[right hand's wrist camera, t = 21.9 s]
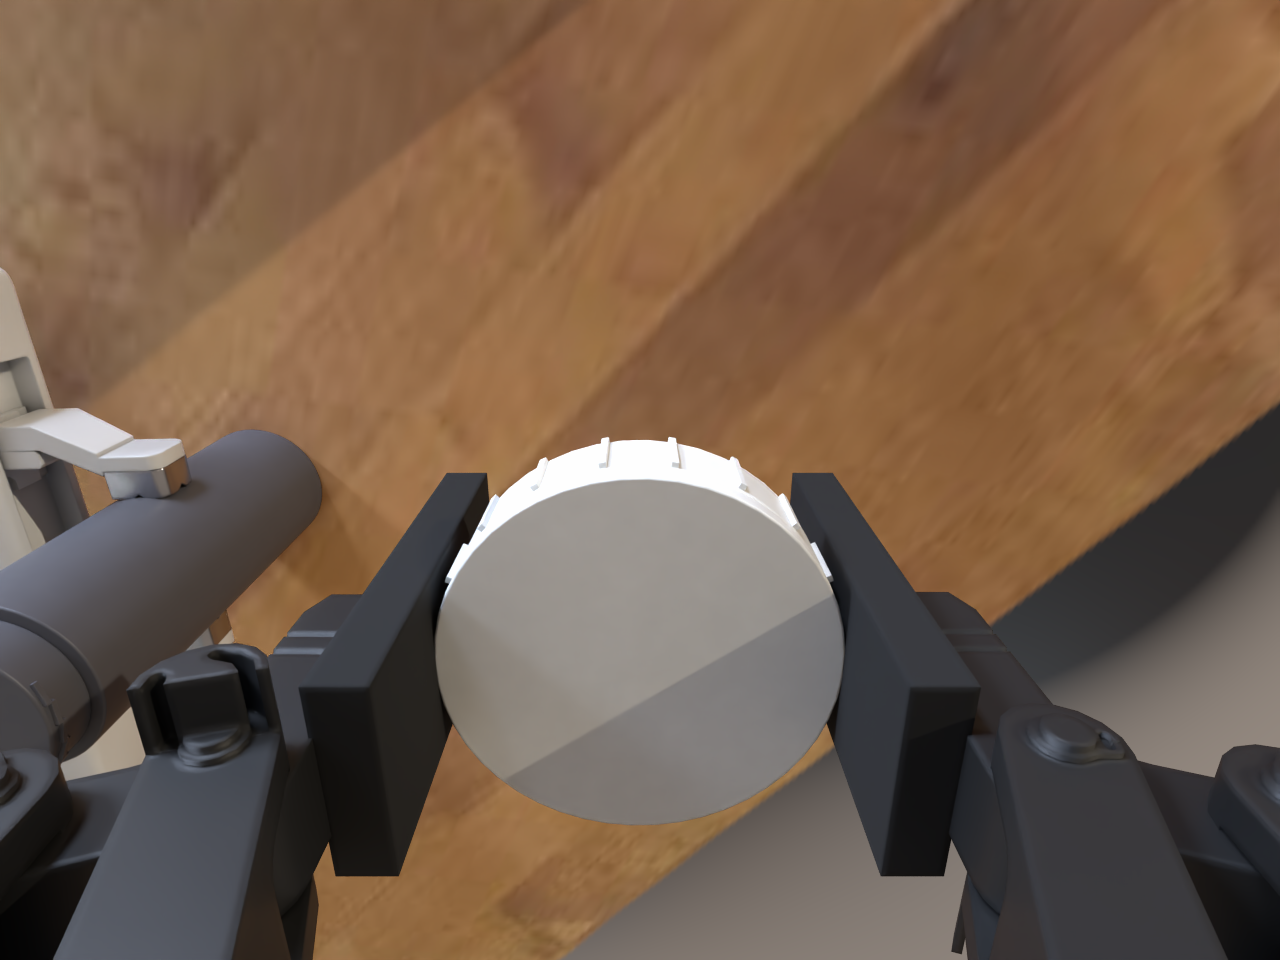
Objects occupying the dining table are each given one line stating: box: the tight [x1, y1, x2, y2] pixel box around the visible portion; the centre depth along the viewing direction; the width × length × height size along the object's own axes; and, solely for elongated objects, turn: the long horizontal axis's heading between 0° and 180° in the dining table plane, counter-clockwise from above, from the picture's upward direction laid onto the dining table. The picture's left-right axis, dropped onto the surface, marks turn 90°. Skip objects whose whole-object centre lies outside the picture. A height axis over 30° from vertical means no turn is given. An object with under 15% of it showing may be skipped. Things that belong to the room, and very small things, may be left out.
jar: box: [0, 430, 322, 766], centre depth 24 cm, size 5×5×15 cm
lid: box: [434, 437, 845, 825], centre depth 11 cm, size 6×6×2 cm
